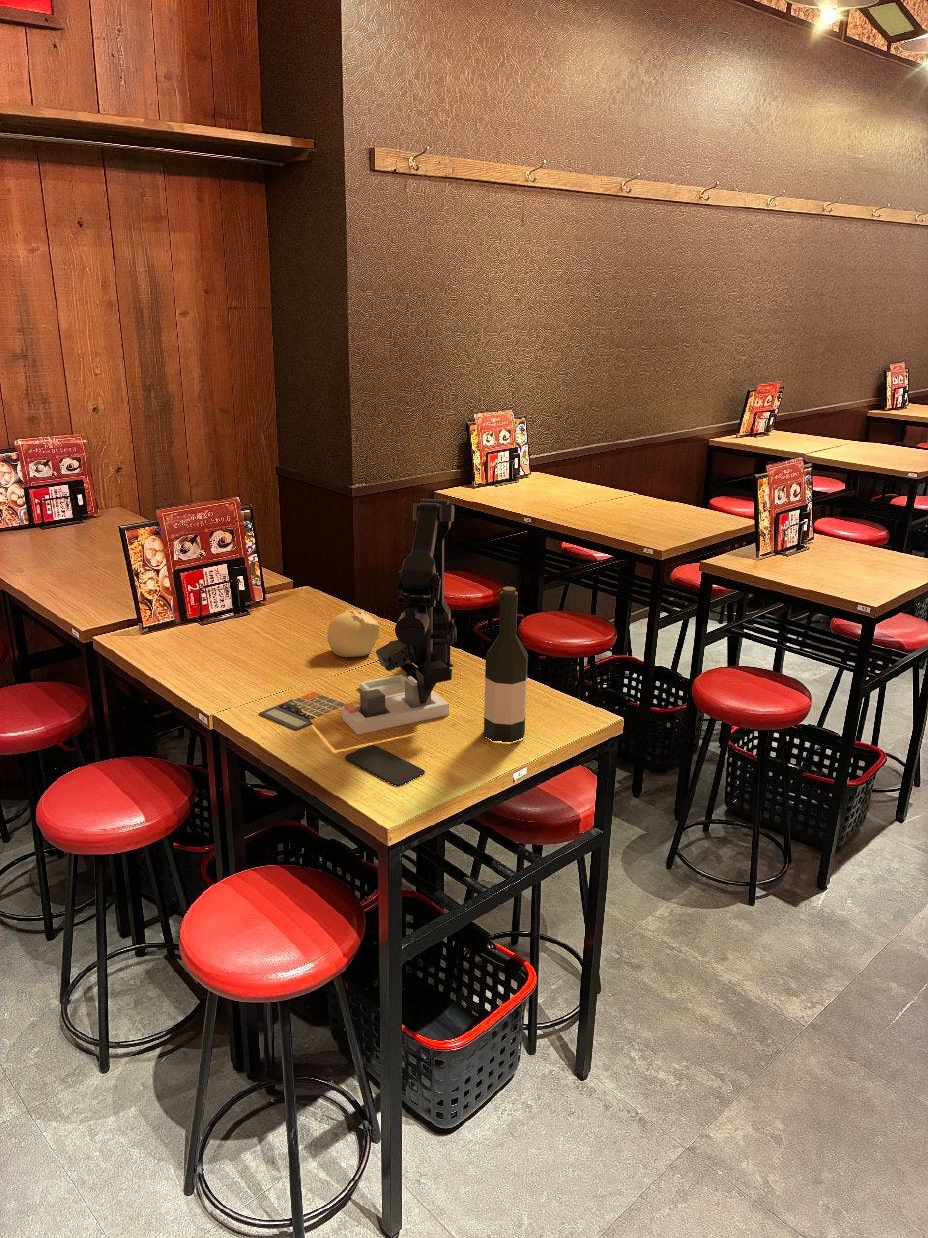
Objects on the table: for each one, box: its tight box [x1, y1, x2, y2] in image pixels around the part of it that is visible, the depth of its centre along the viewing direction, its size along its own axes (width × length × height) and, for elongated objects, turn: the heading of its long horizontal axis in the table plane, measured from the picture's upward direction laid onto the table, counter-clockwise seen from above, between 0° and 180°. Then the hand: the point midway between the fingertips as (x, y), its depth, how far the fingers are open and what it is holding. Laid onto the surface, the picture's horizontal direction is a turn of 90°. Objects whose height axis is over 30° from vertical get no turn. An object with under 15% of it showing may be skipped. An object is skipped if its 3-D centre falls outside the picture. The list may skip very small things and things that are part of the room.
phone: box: [344, 744, 426, 787], centre depth 164 cm, size 7×1×15 cm
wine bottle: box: [483, 586, 529, 742], centre depth 172 cm, size 8×8×30 cm
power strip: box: [341, 689, 450, 736], centre depth 182 cm, size 20×8×6 cm, turn 118°
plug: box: [404, 675, 431, 708], centre depth 183 cm, size 4×4×6 cm
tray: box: [358, 674, 405, 699], centre depth 194 cm, size 10×10×2 cm
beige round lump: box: [326, 609, 380, 658], centre depth 215 cm, size 12×12×11 cm
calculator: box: [258, 691, 345, 732], centre depth 186 cm, size 12×1×15 cm
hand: (418, 699), depth 184 cm, fingers closed on plug, 4 cm apart
